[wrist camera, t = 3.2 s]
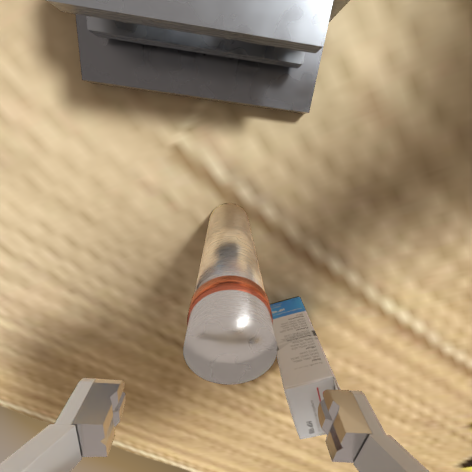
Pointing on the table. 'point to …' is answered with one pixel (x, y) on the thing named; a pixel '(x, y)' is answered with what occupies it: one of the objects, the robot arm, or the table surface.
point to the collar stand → (206, 47)
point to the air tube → (229, 305)
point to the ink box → (301, 365)
